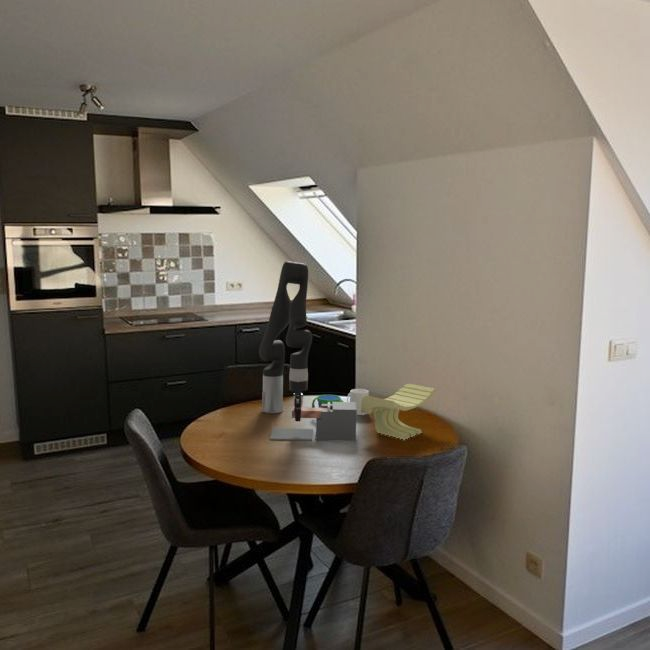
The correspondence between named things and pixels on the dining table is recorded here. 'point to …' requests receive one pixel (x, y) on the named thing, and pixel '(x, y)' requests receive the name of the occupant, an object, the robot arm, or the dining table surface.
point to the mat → (291, 434)
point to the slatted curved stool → (396, 409)
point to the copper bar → (309, 412)
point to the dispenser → (337, 422)
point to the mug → (358, 398)
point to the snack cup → (326, 400)
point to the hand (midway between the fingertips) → (298, 419)
